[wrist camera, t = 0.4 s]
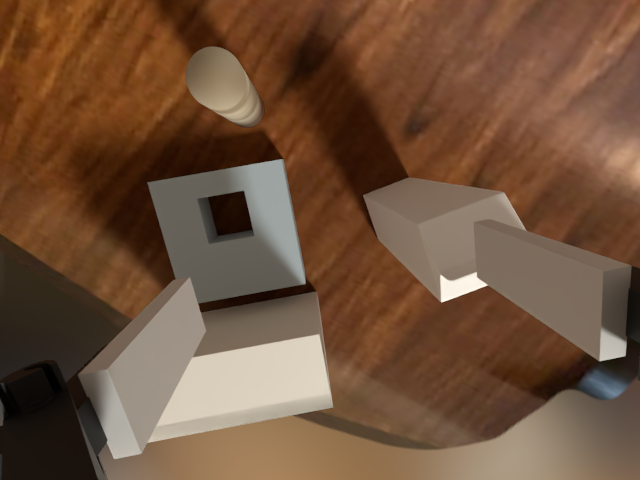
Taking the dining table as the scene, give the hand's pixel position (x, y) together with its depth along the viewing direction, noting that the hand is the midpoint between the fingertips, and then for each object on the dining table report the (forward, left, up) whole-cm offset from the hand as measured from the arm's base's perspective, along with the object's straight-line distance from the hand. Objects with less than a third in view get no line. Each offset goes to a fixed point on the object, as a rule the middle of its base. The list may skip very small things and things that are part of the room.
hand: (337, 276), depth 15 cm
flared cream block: (+9, -10, -25) cm, 29 cm away
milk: (+2, +9, -25) cm, 27 cm away
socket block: (+1, -10, -25) cm, 27 cm away
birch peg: (-12, -6, -25) cm, 28 cm away
